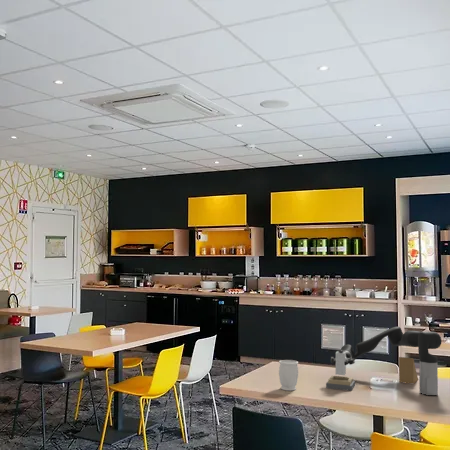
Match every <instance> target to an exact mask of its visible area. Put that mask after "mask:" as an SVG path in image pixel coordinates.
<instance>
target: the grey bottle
mask: <svg viewBox="0 0 450 450" xmlns="http://www.w3.org/2000/svg"><path fill="white" fill-rule="evenodd" d="M335 358H336V364H335V375H336V376H346V372H347V365H344V364H345V360H346V352H343V350H341V349H339V350H337V351H336V352H335Z"/></svg>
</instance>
